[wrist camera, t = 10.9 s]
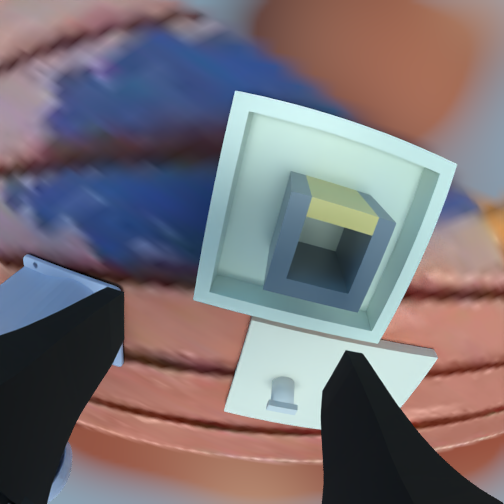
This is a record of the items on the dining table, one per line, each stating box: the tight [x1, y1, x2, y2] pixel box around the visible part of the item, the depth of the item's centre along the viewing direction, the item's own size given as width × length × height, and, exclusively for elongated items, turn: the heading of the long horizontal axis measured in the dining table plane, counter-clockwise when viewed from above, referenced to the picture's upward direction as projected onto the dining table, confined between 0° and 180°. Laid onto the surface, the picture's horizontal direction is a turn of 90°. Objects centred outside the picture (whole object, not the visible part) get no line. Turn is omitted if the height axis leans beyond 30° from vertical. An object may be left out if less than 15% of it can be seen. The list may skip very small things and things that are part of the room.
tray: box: [193, 91, 457, 344], centre depth 16 cm, size 11×11×3 cm
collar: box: [263, 171, 396, 313], centre depth 15 cm, size 4×4×4 cm
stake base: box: [224, 316, 438, 429], centre depth 21 cm, size 14×10×4 cm
